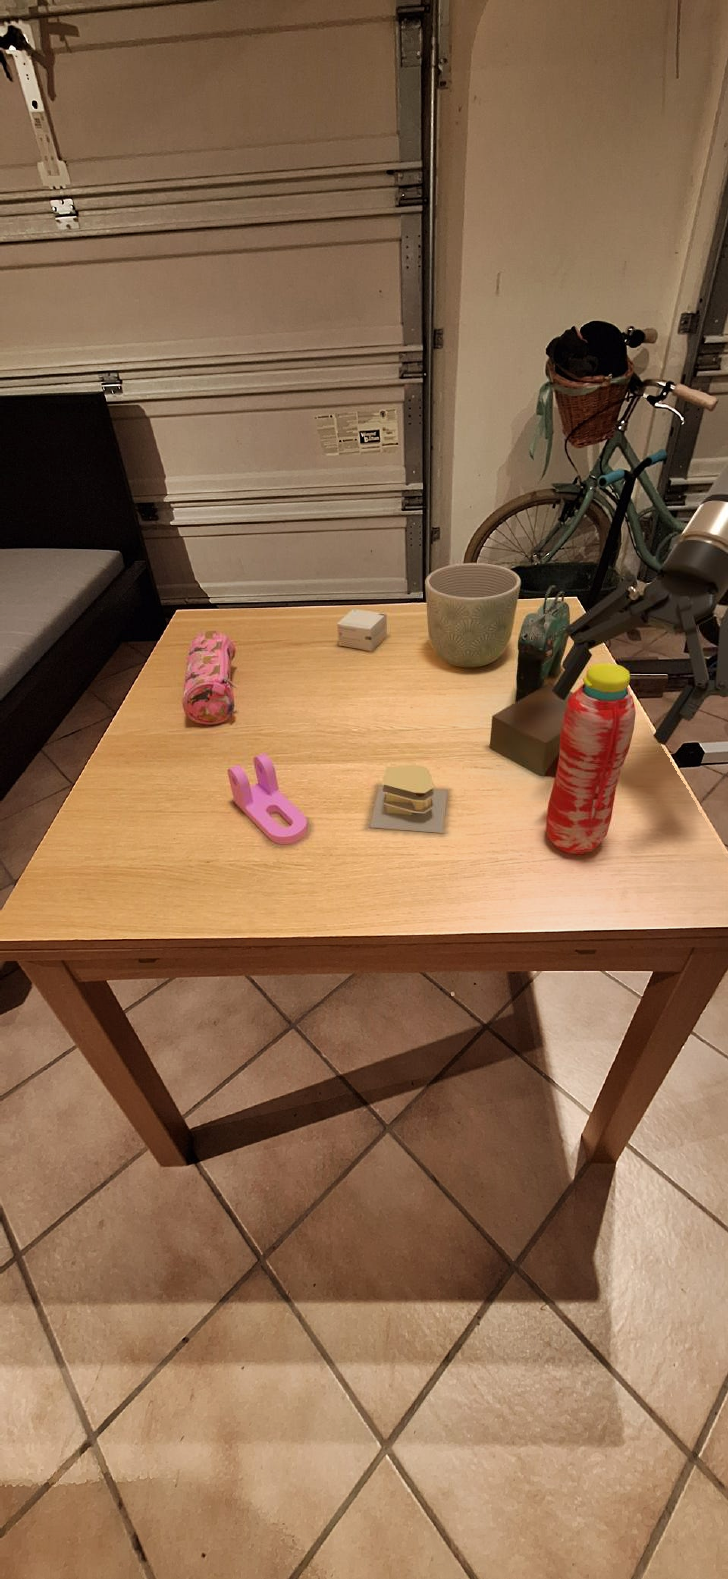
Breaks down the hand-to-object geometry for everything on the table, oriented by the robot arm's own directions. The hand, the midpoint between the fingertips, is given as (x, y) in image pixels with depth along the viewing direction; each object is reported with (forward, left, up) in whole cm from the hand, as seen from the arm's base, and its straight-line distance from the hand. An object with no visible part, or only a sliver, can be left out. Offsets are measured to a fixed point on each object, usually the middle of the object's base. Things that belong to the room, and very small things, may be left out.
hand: (605, 717), depth 75 cm
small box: (+63, -14, -17) cm, 67 cm away
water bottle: (0, +3, -17) cm, 17 cm away
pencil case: (+65, +19, -17) cm, 70 cm away
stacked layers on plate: (+18, +15, -17) cm, 29 cm away
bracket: (+30, +30, -17) cm, 46 cm away
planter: (+43, -24, -17) cm, 52 cm away
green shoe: (+25, -22, -17) cm, 38 cm away
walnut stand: (+15, -11, -17) cm, 25 cm away
